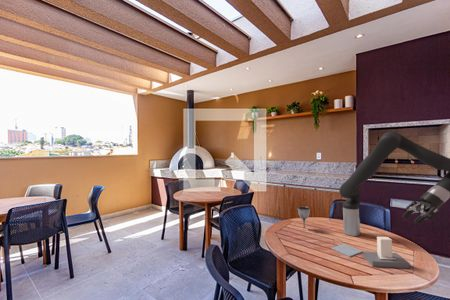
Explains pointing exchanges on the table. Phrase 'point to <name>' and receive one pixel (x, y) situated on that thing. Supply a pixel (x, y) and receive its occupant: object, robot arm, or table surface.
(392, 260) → the gray slotted base
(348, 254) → the mat
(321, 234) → the table surface
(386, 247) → the tall cream pillar
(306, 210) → the wine glass
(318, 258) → the table surface
